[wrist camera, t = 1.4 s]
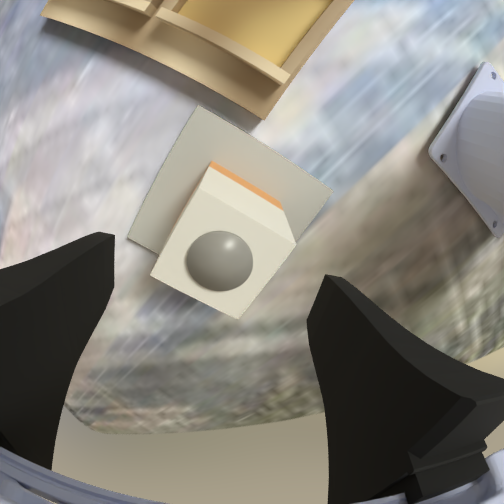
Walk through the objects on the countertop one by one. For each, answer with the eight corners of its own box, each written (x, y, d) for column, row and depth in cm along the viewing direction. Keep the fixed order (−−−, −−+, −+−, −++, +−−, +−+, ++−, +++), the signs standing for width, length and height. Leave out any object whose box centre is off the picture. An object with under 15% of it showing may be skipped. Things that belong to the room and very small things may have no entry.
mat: (331, 189, 16) (333, 191, 15) (249, 297, 19) (249, 301, 18) (199, 105, 14) (197, 105, 13) (129, 234, 17) (127, 237, 16)
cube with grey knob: (280, 201, 16) (297, 247, 11) (238, 260, 17) (237, 322, 12) (211, 160, 15) (198, 189, 10) (173, 225, 16) (148, 278, 11)
